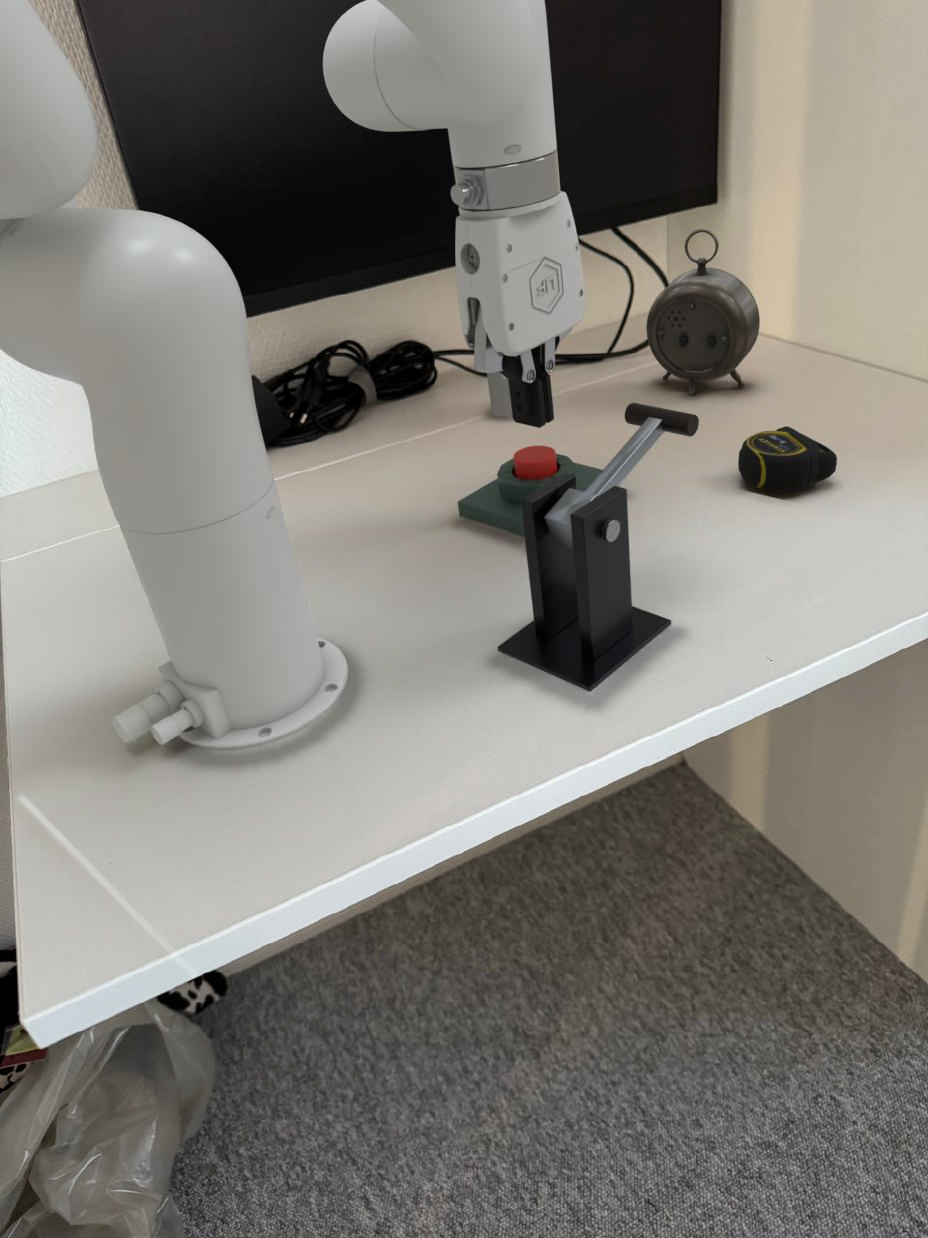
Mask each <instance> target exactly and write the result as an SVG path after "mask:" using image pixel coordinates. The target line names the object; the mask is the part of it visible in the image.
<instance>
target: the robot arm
mask: <svg viewBox="0 0 928 1238" xmlns="http://www.w3.org/2000/svg"><path fill="white" fill-rule="evenodd" d="M547 19H548V18H547V10H546V1H545V0H364V1H361V2H359V3H357V4H355V5H353V6H352V7H351V8H349V9H348V10H347V11H345V13H343V14H342V15H341V16H340V17H339V18H338V19H337V21H336V22H335V23H334V25H333V26H332V27H331V29H330V31H329V33H328V36H327V38H326V41H325V45H324V47H323V48H324V49H323V54H322V55H323V56H322V71H323V72H322V73H323V78H324V82H325V86H326V89H327V91H328V94H329V96H330V98H331V99H332V102H333V103H334V104H335V106H336V107H337V108H338V110H339V111H340V112H341V113H342V114H343V115H344V116H345V117H347V118H348V119H349V120H350V121H352V122H354V123H355V124H357V125H359V126H361V127H364V128H366V129H369V130H374V131H379V132H389V133H390V132H393V133H394V132H416V131H418V132H419V131H428V130H437V129H447V133H448V140H449V148H450V154H451V161H452V162H451V163H452V170H453V177H454V185H452V187H451V188H450V198H451V200H452V202H453V203H454V204H455V205H456V206H458V212H459V215H458V216H456V218H455V232H454V233H455V234H454V235H455V240H454V241H455V242H454V243H455V244H454V246H455V247H454V250H455V251H454V252H455V255H454V256H455V275H456V276H455V277H456V289H457V292H456V293H457V301H458V302H457V303H458V310H459V316H460V323H461V328H462V329H461V330H462V335H463V337H464V340H465V343H466V346H467V347H468V349H470V350H473V351H474V352H473V356H474V357H473V368H474V370H475V371H476V372H479V373H485V374H487V373H495V372H500V373H501V376H502V377H503V378H504V379H508V383H509V391H510V399H511V407H512V416H513V418H512V419H513V421H514V423H516V424H521V425H526V426H530V427H534V428H537V429H541V428H542V427H544V426H546V424H549V423H551V422H553V421H554V420H555V412H554V402H553V391H552V382H551V373H553V371H554V370H555V366H556V352H557V349H558V347H559V346H560V345H559V344H560V342H562V341H563V340H564V339H565V338H566V337H567V336H568V335H569V334H570V333H571V332H572V331H573V329H574V328H575V327H577V326H578V325H579V324H580V323H581V322H582V320H583V319H584V317H585V315H586V311H587V303H586V290H585V280H584V279H585V278H584V271H583V263H582V256H581V255H582V254H581V249H580V243H579V238H578V237H579V236H578V233H577V227H576V223H575V218H574V215H573V212H572V211H573V210H572V207H571V204H570V200H569V197H568V195H567V192H565V191H562V190H561V182H560V171H559V170H560V167H559V155H558V145H557V144H558V143H557V133H556V119H555V118H556V117H555V106H554V94H553V93H554V92H553V79H552V68H551V56H550V44H549V32H548V31H549V30H548V21H547ZM94 112H95V111H94V109H93V106H92V102H91V100H90V97H89V96H88V93H87V91H86V89H85V87H84V85H83V83H82V81H81V79H80V78H79V76H78V74H77V72H76V71H75V69H74V68H73V66H72V64H71V63H70V62H69V60H68V59H67V57H66V54H64V52H63V51H62V49H61V48H60V46H59V45H58V43H57V41H56V40H55V38H54V37H53V35H52V34H51V33H50V31H49V30H48V29H47V27H46V25H45V24H44V22H43V21H42V20H41V18H40V17H39V14H37V12H36V10H34V7H33V6H32V5H31V3H30V2H29V0H0V351H2V352H3V353H4V354H6V355H7V356H8V357H10V358H11V359H12V360H14V361H16V362H17V363H19V364H21V365H24V366H25V367H27V368H29V369H31V370H34V371H36V372H40V373H42V374H44V375H48V376H51V377H54V378H57V379H61V380H65V381H68V382H72V383H74V384H77V385H79V386H81V387H82V389H83V392H84V394H85V396H86V400H87V403H88V407H89V414H90V421H91V429H92V439H93V440H92V441H93V448H94V453H95V459H96V460H95V461H96V463H97V468H98V471H99V475H100V478H101V479H100V480H101V482H102V485H103V488H104V491H105V494H106V496H107V499H108V502H109V504H110V508H111V511H112V512H113V515H114V518H115V520H116V522H117V524H118V525H119V529H120V531H121V533H122V536H123V539H124V541H125V544H126V547H127V549H128V552H129V554H130V557H131V560H132V563H133V565H134V568H135V571H136V573H137V575H138V578H139V581H140V584H141V586H142V589H143V591H144V594H145V597H146V599H147V601H148V604H149V607H150V610H151V612H152V614H153V617H154V620H155V622H156V625H157V628H158V631H159V633H160V636H161V638H162V639H161V640H162V641H163V644H164V646H165V649H166V651H167V655H168V657H169V660H168V661H167V662H166V663H164V664H162V665H160V666H159V667H158V668H157V670H158V672H159V674H160V677H161V680H162V681H163V682H162V683H160V684H159V685H157V686H156V687H154V688H152V695H151V696H149V697H148V698H146V699H144V700H141V702H139V703H136V704H133V705H132V706H130V707H129V708H127V709H125V710H124V711H122V712H120V713H118V714H117V715H115V716H113V717H112V718H111V723H112V726H113V728H114V730H115V732H116V733H117V735H118V736H119V738H121V740H122V741H123V742H124V743H126V744H131V743H132V742H134V741H135V740H138V738H140V737H142V736H144V735H145V734H146V733H148V732H151V735H152V737H153V738H154V739H155V741H156V742H157V743H158V744H159V745H161V746H164V745H165V744H167V743H168V742H170V741H171V740H173V739H175V738H177V737H179V739H182V740H183V741H185V742H186V743H189V744H192V745H194V746H196V747H200V748H205V749H209V750H210V749H211V750H223V751H225V750H227V751H229V750H242V749H250V748H253V747H260V746H263V745H267V744H271V743H273V742H277V741H279V740H282V739H285V738H288V737H289V736H291V735H293V734H296V733H298V732H300V731H302V730H303V729H304V728H306V727H309V726H310V725H312V724H313V723H314V722H316V721H318V720H319V719H320V718H322V717H323V716H324V715H325V714H326V713H327V712H328V711H330V710H331V708H332V707H333V706H334V705H335V704H336V703H337V702H338V700H339V699H340V698H341V696H342V694H343V692H344V691H345V689H346V687H347V683H348V680H349V665H348V662H347V659H346V656H345V655H344V653H343V652H342V650H341V649H340V647H338V646H337V645H335V644H334V643H333V642H332V641H329V640H327V639H325V638H323V637H321V636H317V634H316V628H315V626H314V625H315V624H314V621H313V618H312V614H311V610H310V607H309V604H308V600H307V596H306V592H305V589H304V585H303V581H302V577H301V574H300V569H299V566H298V563H297V559H296V556H295V553H294V552H295V551H294V548H293V544H292V540H291V536H290V533H289V530H288V526H287V522H286V518H285V515H284V511H283V506H282V503H281V500H280V496H279V492H278V489H277V486H276V482H275V478H274V474H273V471H272V468H271V464H270V461H269V456H268V453H267V449H266V444H265V442H264V436H263V433H262V429H261V425H260V419H259V416H258V415H259V414H258V410H257V406H256V399H255V393H254V387H253V386H254V385H253V380H252V370H251V369H252V368H251V357H250V340H249V327H248V319H247V312H246V306H245V303H244V299H243V298H244V297H243V295H242V292H241V288H240V286H239V282H238V280H237V279H236V276H235V274H234V272H233V270H232V268H231V267H230V265H229V264H228V262H227V260H226V259H225V258H224V256H223V255H222V254H221V253H220V252H219V250H218V249H217V248H216V247H215V246H214V245H213V244H212V242H210V241H209V240H208V239H207V238H206V237H204V235H202V234H200V233H199V232H197V231H196V230H195V229H193V228H191V227H190V226H188V225H186V224H185V223H183V222H181V221H179V220H176V219H173V218H171V217H168V216H165V215H163V214H159V213H155V212H151V211H146V210H139V209H130V208H129V209H128V208H127V209H126V208H125V209H124V208H104V207H103V208H102V207H101V208H99V207H96V208H95V207H83V208H82V206H81V205H80V204H79V203H78V202H77V200H76V199H75V197H77V196H78V194H80V193H81V192H82V190H83V189H84V188H85V187H86V185H87V184H88V183H89V181H90V179H91V176H92V175H93V172H94V169H95V166H96V163H97V158H98V153H99V129H98V124H97V119H96V115H95V113H94ZM515 356H516V357H517V358H516V357H515ZM320 646H322V647H320ZM332 688H335V690H332V691H328V690H329V689H332ZM192 727H193V729H191V730H188V731H186V730H187V729H189V728H192ZM266 732H269V734H268V735H265V736H261V735H262V734H264V733H266Z"/></svg>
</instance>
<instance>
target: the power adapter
mask: <svg viewBox="0 0 928 1238" xmlns="http://www.w3.org/2000/svg"><path fill="white" fill-rule="evenodd" d="M515 357H516V356H515ZM516 358H517V357H516ZM486 377H487V384H488V385H487V386H488V393H489V400H490V409H491V414H492V416H494V417H499V418H504V419H513V416H512V407H511V399H510V391H509V383H508V379H504V378H503V377H502V376H501V373H500V372H495V373H486Z"/></svg>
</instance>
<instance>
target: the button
mask: <svg viewBox="0 0 928 1238" xmlns="http://www.w3.org/2000/svg"><path fill="white" fill-rule="evenodd" d="M556 454H557V453H556V450H555V449H554V448H553V447H551V446H549V445H531V446H526V447H523V448H520V449H518V450H517V451H516V452H514V454H513V456H512V457H513V458H512V459H514V467H515V475H516V477H517V478H521V479H524V480H531V479H542V478H546V477H550V476H552V475H554V474H555V473H557V462H556Z"/></svg>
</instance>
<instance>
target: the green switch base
mask: <svg viewBox="0 0 928 1238" xmlns="http://www.w3.org/2000/svg"><path fill="white" fill-rule="evenodd" d="M556 462H557V473H555V474H554V475H552V476H550V477H546V478H542V479H531V480H524V479H521V478H517V477H516V475H515V467H514V459H513V458H511V459H509V460H507V461H505V462H504V463H502V464H501V465H500V467H499V469H498V471H497V473H496V477H497V478H496V479H493V480H492V481H490V482H489V483H487V484H485V485H483V486H482V487H480V488H478V489H476V490H475V491H473V492H471V493H470V494H468V495H466V496H465V497H462V498H461V499H460V500H458V501H457V507H458V515H459V519H461V518H463V517H464V518H467V519H470V520H473V521H476V522H479V523H481V524H484V525H487V526H490V527H494V528H497V529H500V530H502V531H505V532H508V533H512V534H514V535H518V536H520V537H523V538H525V537H524V528H523V519H522V511H521V502H520V500H521V499H522V498H524V497H525V496H527V495H528V494H530V493H532V492H533V491H535V490H537V489H538V488H540V487H541V486H543V485H545V484H546V483H548V482H550V481H551V480H553V479H554V478H556V477H558V476H559V475H561V474H563V473H568V474H572V475H575V476H576V484H577V490H579V491H582V492H585V490H586V489H587V488H588V487H589V486H590V485H591V483H592V482H593V481H594V480H595V479H596V478H597V476H598V475H599V474H600V473H601V472H602V471H603V470H604V469H601V468H597V467H594V466H590V465H586V464H581V463H578V462H574V461H573V460H572V459H571V458H570V457H569V456H567V455H564V454H560V453H556ZM618 487H620V485H619V486H618Z"/></svg>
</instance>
